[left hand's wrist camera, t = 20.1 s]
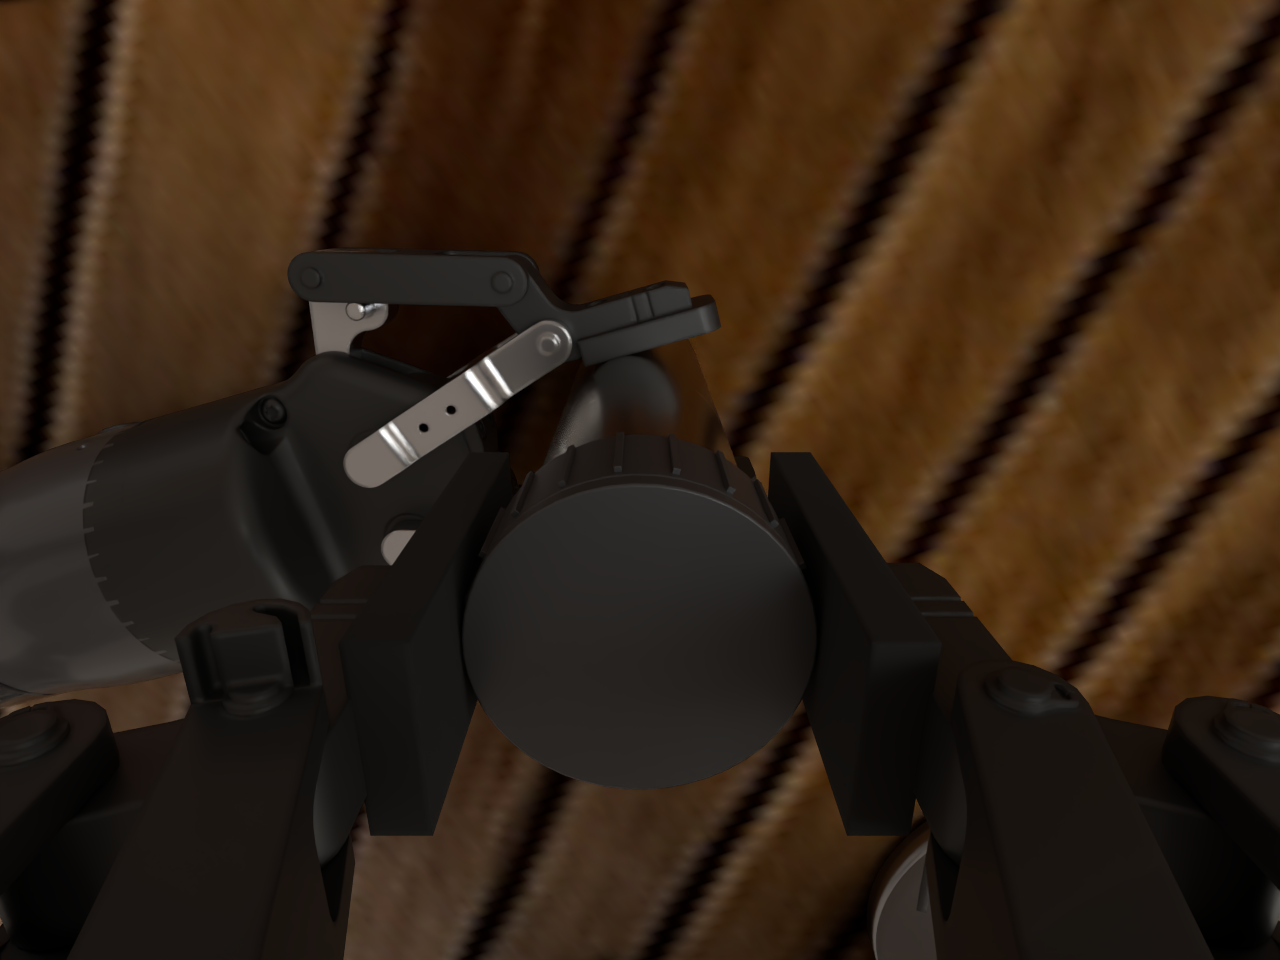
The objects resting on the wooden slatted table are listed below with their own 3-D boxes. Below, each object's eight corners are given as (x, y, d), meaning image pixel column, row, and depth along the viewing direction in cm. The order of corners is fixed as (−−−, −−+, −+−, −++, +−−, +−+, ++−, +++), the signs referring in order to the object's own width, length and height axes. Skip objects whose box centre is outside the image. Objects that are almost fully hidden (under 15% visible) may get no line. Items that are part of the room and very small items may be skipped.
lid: (843, 491, 12) (886, 553, 10) (721, 733, 13) (736, 829, 11) (541, 384, 11) (517, 424, 9) (452, 651, 13) (416, 737, 11)
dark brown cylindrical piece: (581, 312, 26) (489, 480, 10) (700, 315, 26) (797, 487, 10) (581, 427, 28) (502, 732, 12) (695, 430, 28) (770, 737, 12)
